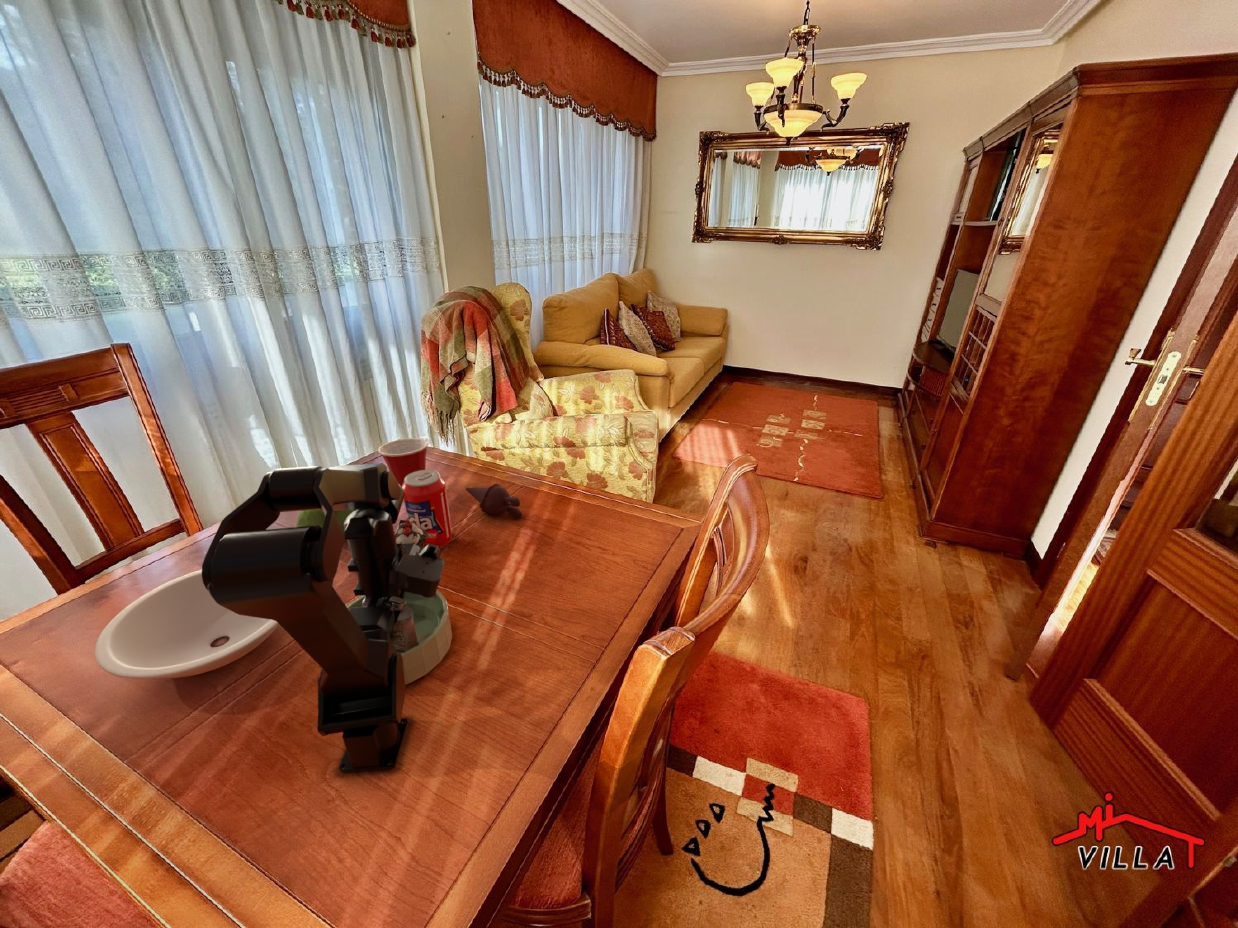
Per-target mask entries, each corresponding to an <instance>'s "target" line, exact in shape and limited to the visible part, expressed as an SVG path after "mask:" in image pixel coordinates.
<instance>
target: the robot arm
mask: <svg viewBox="0 0 1238 928" xmlns="http://www.w3.org/2000/svg"><path fill="white" fill-rule="evenodd" d="M403 499H404V489H403V488H402V487H401V485H400V484H398V482H397V481H396V479H395V477H394V475H393V473H392V472H391V471H389V470H388V466H387V464H384V463H383V462H378V463H377V462H376V463H361V464H347V465H346V464H345V465H334V466H333V465H332V466H330V467H329V468H328V467H326V468H325V467H322V466H321V465H314V466H299V467H283V468H276V469H273V470H272V471H268V472H266V473H265V474H264V476H263V477H262V479H261V481H260V484H259V486H258V489H257V491H256V492H254V493H253V494H252V495H251V496H250V497H248V498H247V499H245V501H243V502H242V503H240V505H238V506H237V507H236V508H234V509H233V510H232V511H231V512H230V513H229V514H227V515H226V516H225V517H224V518H223V519H222V520H221V522H220V524H219V526H218V527H217V530H216V532H215V535H214V536H213V538H212V540H211V543H210V545H209V547H208V549H207V551H206V553H205V556H204V558H203V561H202V564H201V569H202V580H203V584H204V586H205V588H206V589H207V590H208V591H209V594H210V595H211V597H212V598H213V599H214V601H215V602H216V603H218V604H219V605H221V606H223V607H225V608H227V609H229V610H231V611H233V612H234V613H236V614H239V615H244V616H251V617H257V618H264V619H270V620H275V621H277V622H278V623H279V625H280V627H281V628H282V629H283V630H284V631H285V632H286V633H287V634H288V635H289V636H290V637H291V638H292V639H293V640H294V641H295V642H296V643H297V645H299V646H300V647H301V648H302V649H303V651H304V652H305V653H306V654H308V656H309V657H310V658H311V659H312V660H313V661H314V662H315V663H316V664H317V665H318V666H319V667H320V668H321V670H320V675H319V677H318V678H317V727H316V728H317V729H316V730H317V733H318V734H320V735H321V736H322V737H326V736H329V735H333V734H339V733H342V736H341V738H342V741H343V743H344V747H345V751H344V754H343V756H342V759H341V760H340V763H339V766H338V771H339V773H343V774H344V773H354V772H357V773H358V772H368V771H383V770H393V769H394V768H395V767H396V765H397V762H398V760H399V756H400V753H401V749H402V747H403V743H404V741H405V736H406V734H407V730H408V727H409V724H410V721H409V719H408V718H407V717H404V718H403V717H402V714H403V709H404V704H405V699H406V692H407V690H406V685H405V679H404V669H403V660H402V656H401V654H397V650H396V648H395V647H394V646H393V643H394V640H393V627H394V625H395V624H396V622H397V620H398V617H399V615H400V612H401V610H393V609H392V608H393V603H392V602H390V601H391V599H392V596H395V597H398V598H401V599H404V598H405V592H409V593H413V594H418V595H422V596H423V597H426V598H431V597H433V596H435V594H436V591H437V590H438V588H439V585H440V582H441V579H442V575H443V572H444V568H445V562H446V561H445V558H444V557H442V554H441V550H440V548H439V547H438V546H437V545H433V544H428V545H427V546H426V547H425V548H424V549H423V550H422V551H421V548H420V547H419V546H417V545H416V544H414V543H409V544H402V543H399V544H397V543H396V538H395V533H394V532H395V529H394V525H395V524H396V523H397V521H398V518H399V515H400V512H401V509H402V505H403V503H404V500H403ZM316 509H322V510H323V512H324V514H325V520H324V523H323V527H321V526H319V525H316V526H302V527H296V526H293V527H292V526H291V527H281V528H271V529H268V528H270V527H271V526H272V525H273V524H274V523H275V522H276V521H277V520H278V519H279V518H280V515H281V513H289V512H290V513H291V512H301V511H303V510H316ZM354 509H355V511H354V512H352V513H351V514H350V515H349V516H348V517H347V518H346V520H345V522H344V529H345V531H344V533H343V531H342V529H341V526H340V524H339V522H338V520H337V517H336V515H335V513H334V511H333V510H335V511H342V510H354ZM344 539H345V540H346V541H347V544H348V547H349V552H350V556H351V558H350V560H349V562H348V564H347V566H346V568H347V571H348V573H355V575H356V579H357V583H356V584H355V586H354V588H353V594H354V596H355V597H356V596H359V597H360V596H362V595H365V599H364V601H363V603H362V604H363V606H367V607H358V608H350V609H349V610H348V609H347V607H346V606H347V605H346V604H345V602H344V601H343V600H342V598H341V597H340V595H339V593H338V592H337V590H336V589H335V588H334V586H333V584H334V579H335V578H336V574H337V572H338V568H339V564H340V559H341V556H342V555H341V554H342V550H343V548H344V547H343V546H344V543H345V541H344Z"/></svg>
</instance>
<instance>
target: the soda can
mask: <svg viewBox="0 0 1238 928" xmlns="http://www.w3.org/2000/svg"><path fill="white" fill-rule="evenodd" d="M402 488H403V489H404V499H403V504H404V510H405V515H406V519H407V518H409V521H411V522H413V523H414V524H415V525H416V526H417V527H419V528H422V529H424V530H425V531H426V532H427V534H428V537H427V538H426V539H427V540H426V541H425V542H424V548H425V547H426V546H427V545H428V544H433V545H437V546H438V547H439V549H440V548H443V547H445V546H446V545H448V544H449V543H450V542H451V540H452V539H453V529H452V521H451V516H450V508H449V507H450V506H449V501H448V493H447V487H446V482H445V480H444V479H443V478H442V477H441V474H440V473H439V471H437V470H434V469H425V470H419V471H415V472H412V473H410V474H408V475H407V476H406V477H405V478H404V483H403V485H402Z"/></svg>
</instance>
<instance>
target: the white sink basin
mask: <svg viewBox="0 0 1238 928" xmlns="http://www.w3.org/2000/svg"><path fill="white" fill-rule="evenodd" d="M279 625H280V624H279V623H278V622H277V621H275V620H270V619H264V618H257V617H251V616H244V615H239V614H236V613H234V612H233V611H231V610H229V609H227V608H225V607H223V606H221V605H219V604H218V603H216V602H215V601H214V599H213V598H212V597H211V595H210V594H209V591H208V590H207V589H206V588H205V586H204V584H203V580H202V568H201V569H198V570H196V571H192V572H190V573H187V574H184V575H182V576H179V577H177V578H174V579H172V580H170V581H167V582H166V583H163V584H161V585H159V586H157V587H155V588H154V589H151V590H150V591H148V592H147V593H145V594H143V595H141V596H140V597H138V598H136V599H135V600H133V602H131V603H129V604H128V605H127V606H125V608H123V609H122V610H120V612H118V613H117V614H116V615H115V616H114V617H113V618H112V619H111V620H110V621H109V622H108V623H107V624H106V625H105V627H104V628H103V630H102V631H101V632H100V634H99V636H98V637H97V640H96V643H95V646H94V657H95V661H96V663H97V665H98V667H100V668H101V669H102V670H103V671H105V672H106V673H108V674H110V675H112V676H114V677H118V678H123V679H130V680H152V679H153V680H154V679H177V678H185V677H192V676H196V675H201V674H205V673H207V672H210V671H215V670H217V669H219V668H222V667H225V666H226V665H229V664H231V663H233V662H235V661H237V660H238V659H241V658H242V657H244V656H246V655H247V654H249V653H250V652H251V651H253V650H255V649H256V648H257V647H259V646H260V645H261V644H262V643H263V642H265V640H267V639H268V638H269V637H270V636H271V635H272V634H273V632H275V630H276V629H278V627H279ZM223 637H228V638H229V639H228V641H226V642H225V643H224V644H222V645H219V646H211V645H212V643H213V642H214V641H215V640H218V639H220V638H223Z"/></svg>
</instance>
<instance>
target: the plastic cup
mask: <svg viewBox="0 0 1238 928" xmlns="http://www.w3.org/2000/svg"><path fill="white" fill-rule="evenodd" d="M428 446H429V442H428V440H426V439H424V438H418V437H408V438H407V437H406V438H400V439H395V440H391V441H388V442H386V443H384V444H381V445H380V446H379V447H378V449H377V450H378V453H379V454H380V455H381V457H382V458H383V460H384V462H385V463H386V467H387V469H388V471H391V472H392V473H393V475H394V477H395V479H396V481H397V482H398V484H400V485H401V487H402V485H403V483H404V478H405V477H406V476H407V475H408V474H410V473H412V472H415V471H419V470H426V467H427V466H426V465H427V464H426V463H427V460H426V459H427V450H428Z"/></svg>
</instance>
